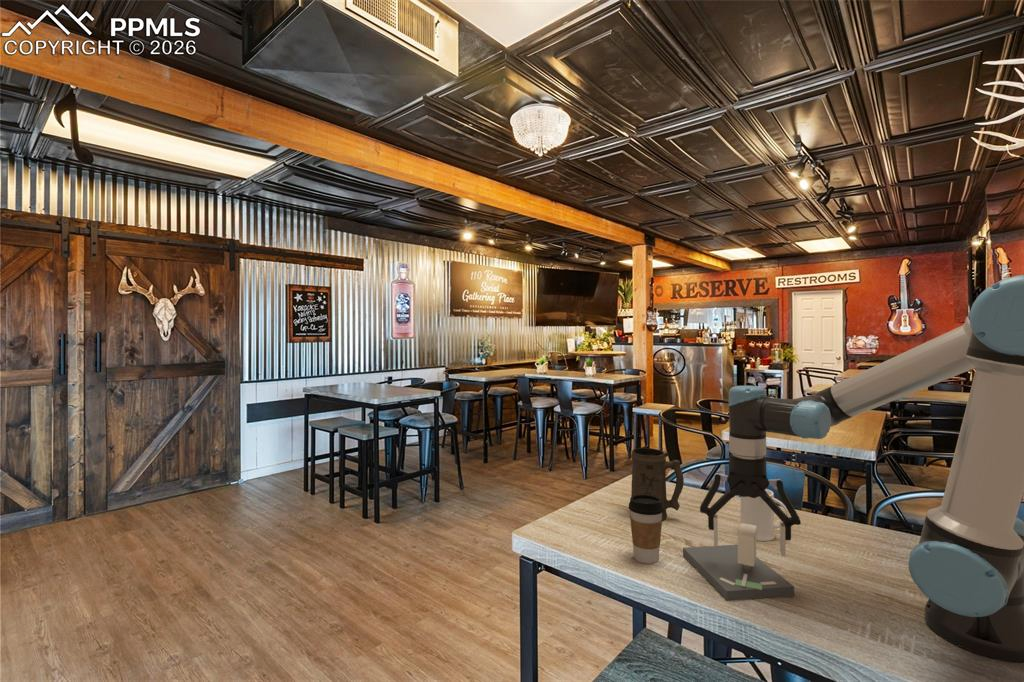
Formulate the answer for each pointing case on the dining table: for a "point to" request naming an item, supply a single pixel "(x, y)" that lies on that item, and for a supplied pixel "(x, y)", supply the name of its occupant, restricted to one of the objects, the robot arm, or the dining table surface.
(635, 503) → the coffee cup
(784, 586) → the tuner board
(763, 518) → the mug
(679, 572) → the dining table surface
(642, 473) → the beer stein
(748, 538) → the peg
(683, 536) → the dining table surface
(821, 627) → the dining table surface
